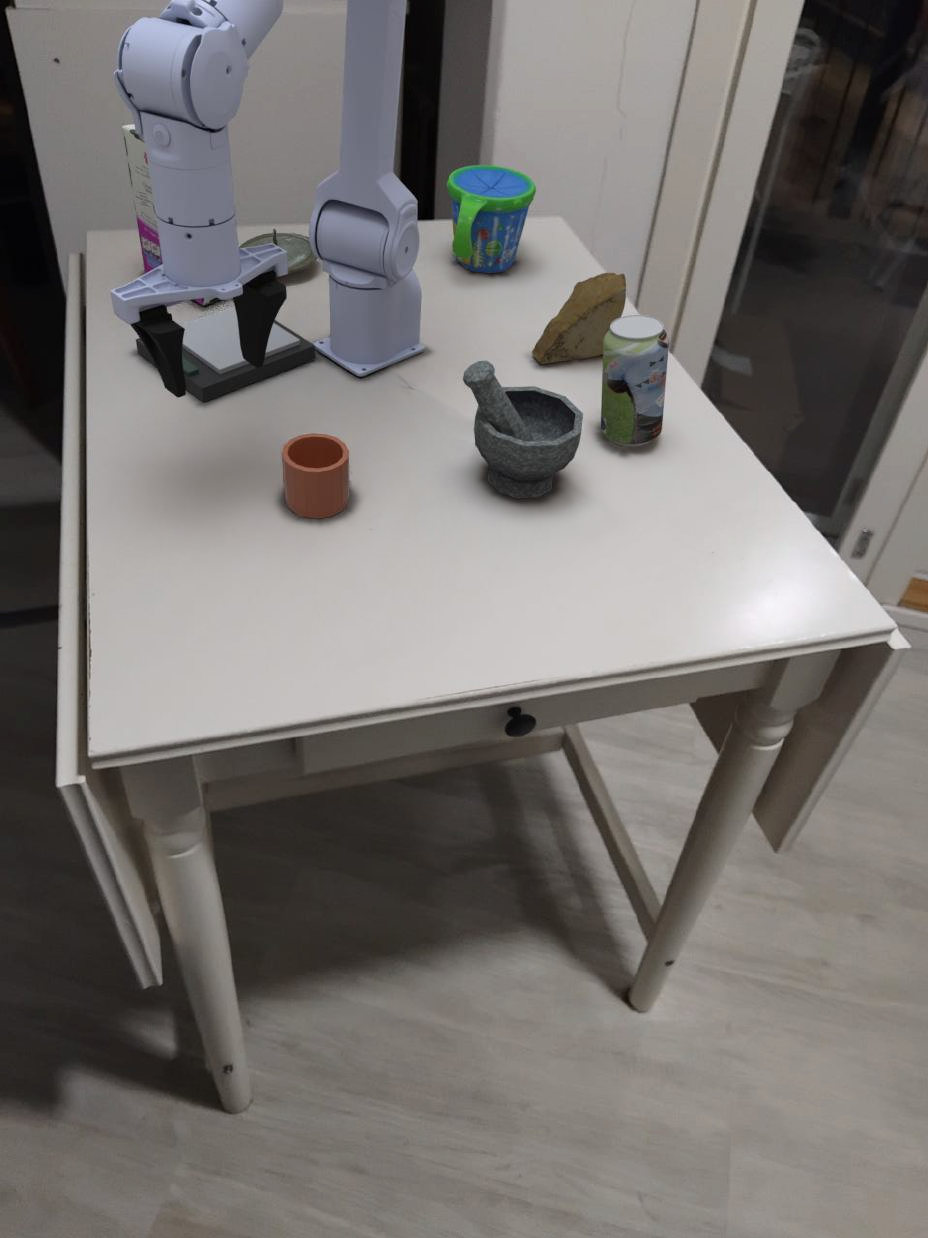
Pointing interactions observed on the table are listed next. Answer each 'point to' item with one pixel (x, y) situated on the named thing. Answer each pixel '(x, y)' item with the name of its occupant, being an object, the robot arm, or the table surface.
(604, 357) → the beverage can
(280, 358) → the scale
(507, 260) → the snack cup
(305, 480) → the terracotta cup
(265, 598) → the table surface
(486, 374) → the mortar and pestle
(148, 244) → the candy bar box
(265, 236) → the lid
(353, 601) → the table surface
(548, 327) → the rock
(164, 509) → the table surface
